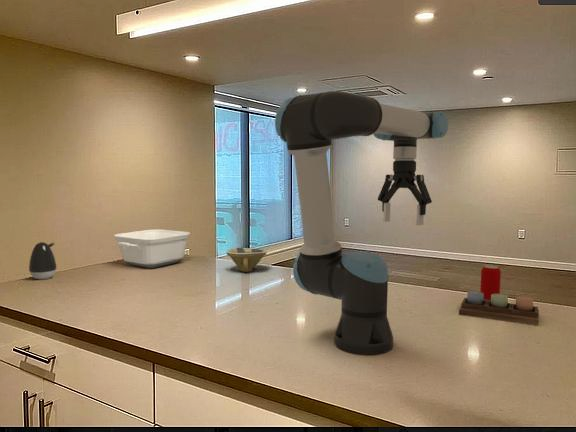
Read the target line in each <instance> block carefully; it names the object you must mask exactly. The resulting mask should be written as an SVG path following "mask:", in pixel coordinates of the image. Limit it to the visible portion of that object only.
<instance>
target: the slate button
mask: <svg viewBox="0 0 576 432" xmlns="http://www.w3.org/2000/svg"><path fill="white" fill-rule="evenodd" d="M466 293H467V297H466V298H467V302H468V303H472V304H483V298H484V293H482V292H480V291H479V290H478V291H477V290H476V291H475V290H469V291H467V292H466Z"/></svg>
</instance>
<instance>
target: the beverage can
mask: <svg viewBox="0 0 576 432" xmlns="http://www.w3.org/2000/svg"><path fill="white" fill-rule="evenodd" d="M501 274H502V273H501V269H500V267H499V266H497V265H491V264H485V265H484V266H482V267H481V270H480V291H479V292H482V293H484V298H483V300H487V301H491V294H501V280H502V279H501V276H502V275H501Z"/></svg>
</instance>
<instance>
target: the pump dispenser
mask: <svg viewBox="0 0 576 432" xmlns="http://www.w3.org/2000/svg"><path fill="white" fill-rule="evenodd" d="M54 245H55V243H54V242H51V243H50V244H48V243H46V242H44V241H43V242H42V241H40V242H38V243H36V244H35V245H34V248H32V251H31V254H30V258H29V264H28V271H29V272H30V275H31V277H32V278H34V279H35V280H47V279H50V278H52V277H53V276H54V275H55V273H56V271H57V262H56V258H55V255H54V252H53V250H52V249H51V247H53V246H54Z"/></svg>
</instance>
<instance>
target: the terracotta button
mask: <svg viewBox="0 0 576 432" xmlns="http://www.w3.org/2000/svg"><path fill="white" fill-rule="evenodd" d="M515 304H516V305H515V308H517V309H520V310H526V311H530V310H533V306H534V298H532V297H529V296H516V297H515Z"/></svg>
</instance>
